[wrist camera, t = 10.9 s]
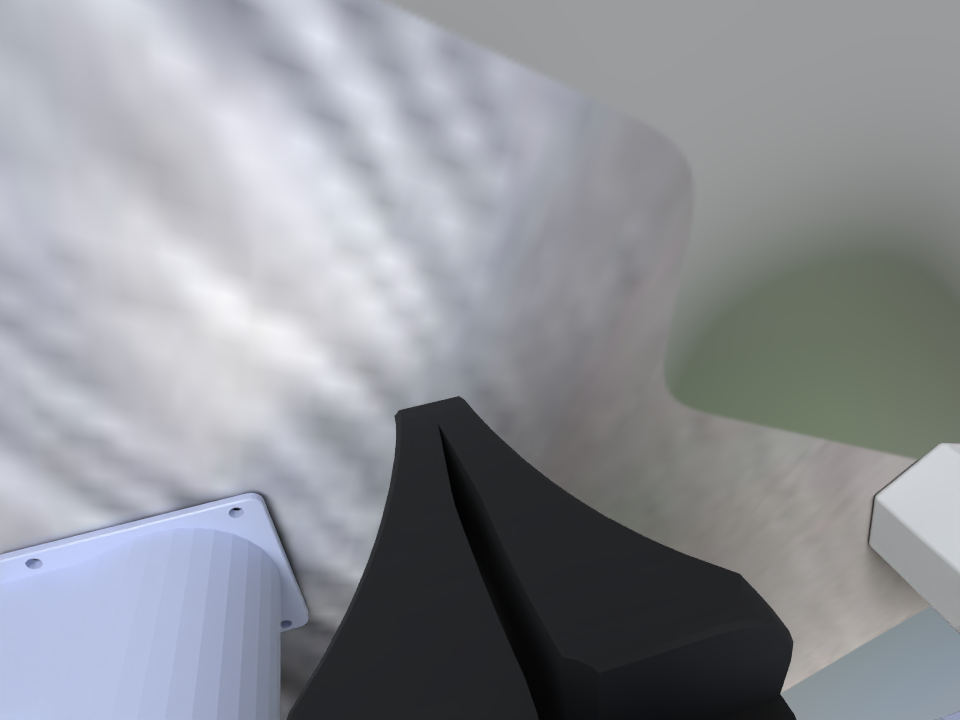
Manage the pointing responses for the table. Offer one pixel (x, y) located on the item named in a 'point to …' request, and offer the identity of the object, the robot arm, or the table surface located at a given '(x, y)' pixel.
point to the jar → (924, 528)
